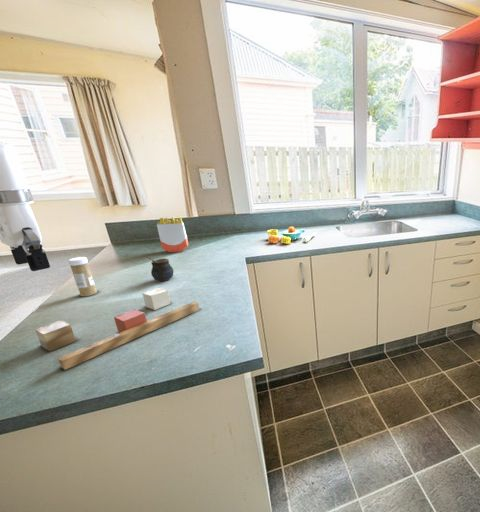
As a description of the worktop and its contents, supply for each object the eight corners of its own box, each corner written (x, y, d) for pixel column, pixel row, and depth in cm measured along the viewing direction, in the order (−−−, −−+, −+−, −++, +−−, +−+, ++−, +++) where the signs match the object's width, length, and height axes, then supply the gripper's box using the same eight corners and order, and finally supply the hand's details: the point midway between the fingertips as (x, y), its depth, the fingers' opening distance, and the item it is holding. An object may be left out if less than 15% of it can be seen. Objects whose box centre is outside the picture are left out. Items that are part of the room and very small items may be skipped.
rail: (65, 369, 68) (61, 360, 67) (61, 367, 69) (57, 358, 68) (199, 309, 95) (198, 302, 95) (195, 308, 96) (194, 301, 95)
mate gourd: (174, 280, 118) (169, 256, 115) (150, 284, 114) (144, 259, 111) (175, 274, 124) (170, 251, 121) (153, 277, 120) (147, 254, 117)
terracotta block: (128, 337, 80) (123, 321, 79) (118, 332, 82) (113, 317, 81) (148, 328, 85) (144, 313, 83) (139, 324, 87) (134, 309, 85)
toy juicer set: (265, 245, 166) (263, 232, 163) (268, 238, 183) (267, 225, 180) (317, 243, 173) (316, 230, 170) (316, 235, 189) (315, 223, 187)
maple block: (50, 351, 74) (43, 334, 73) (41, 346, 76) (34, 329, 75) (76, 341, 78) (70, 324, 77) (67, 336, 80) (61, 320, 79)
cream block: (154, 310, 95) (151, 296, 93) (145, 306, 97) (142, 293, 95) (171, 303, 99) (167, 290, 98) (162, 300, 101) (158, 287, 100)
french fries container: (165, 250, 155) (157, 216, 150) (189, 248, 159) (182, 215, 154) (163, 253, 151) (155, 218, 146) (188, 250, 155) (181, 217, 150)
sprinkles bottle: (100, 292, 107) (89, 257, 103) (85, 297, 103) (73, 261, 98) (91, 290, 108) (80, 255, 104) (76, 295, 104) (64, 259, 100)
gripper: (-29, 196, 70) (-2, 264, 75) (-5, 202, 63) (24, 277, 68) (18, 194, 76) (41, 256, 82) (45, 198, 69) (68, 267, 74)
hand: (33, 266), depth 75 cm, fingers open, 9 cm apart
